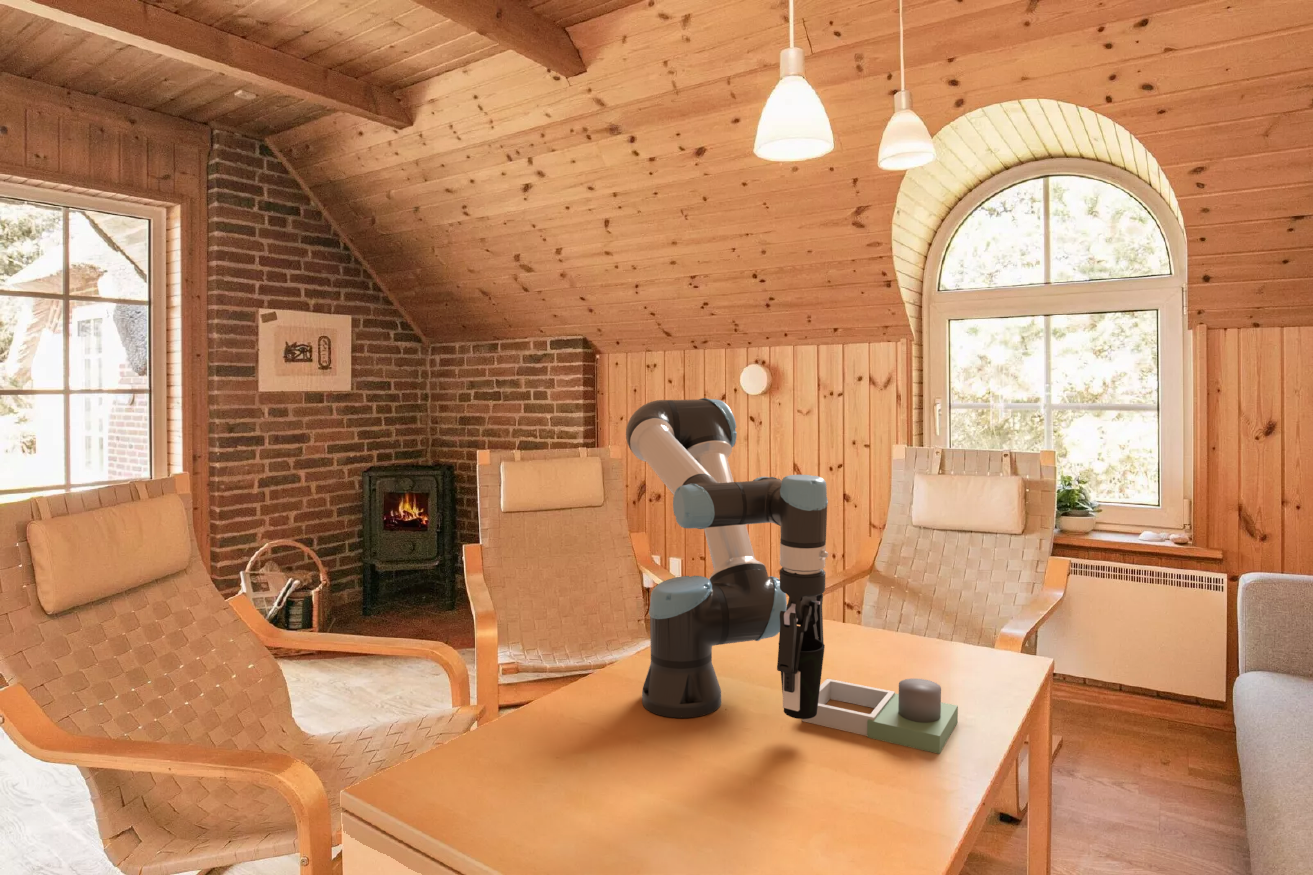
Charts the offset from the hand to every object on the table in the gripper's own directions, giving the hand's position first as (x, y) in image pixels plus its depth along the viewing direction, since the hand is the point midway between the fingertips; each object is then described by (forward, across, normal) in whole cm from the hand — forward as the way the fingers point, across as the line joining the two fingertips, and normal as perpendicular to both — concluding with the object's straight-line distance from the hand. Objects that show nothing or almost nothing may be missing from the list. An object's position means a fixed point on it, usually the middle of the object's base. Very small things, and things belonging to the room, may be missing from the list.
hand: (800, 699), depth 138 cm
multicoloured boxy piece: (+7, +13, -10) cm, 18 cm away
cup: (+2, 0, 0) cm, 2 cm away
